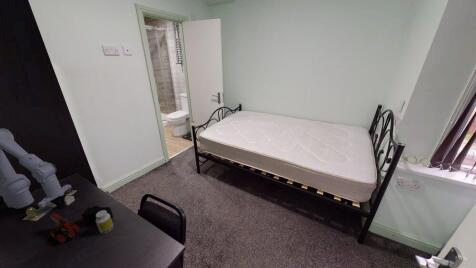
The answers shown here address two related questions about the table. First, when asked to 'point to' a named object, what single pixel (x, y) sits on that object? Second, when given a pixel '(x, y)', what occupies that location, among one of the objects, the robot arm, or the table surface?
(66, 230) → the toy fire truck
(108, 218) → the supplement bottle
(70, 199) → the die
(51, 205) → the board
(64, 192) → the pawn
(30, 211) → the pawn
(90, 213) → the digital camera
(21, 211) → the table surface
